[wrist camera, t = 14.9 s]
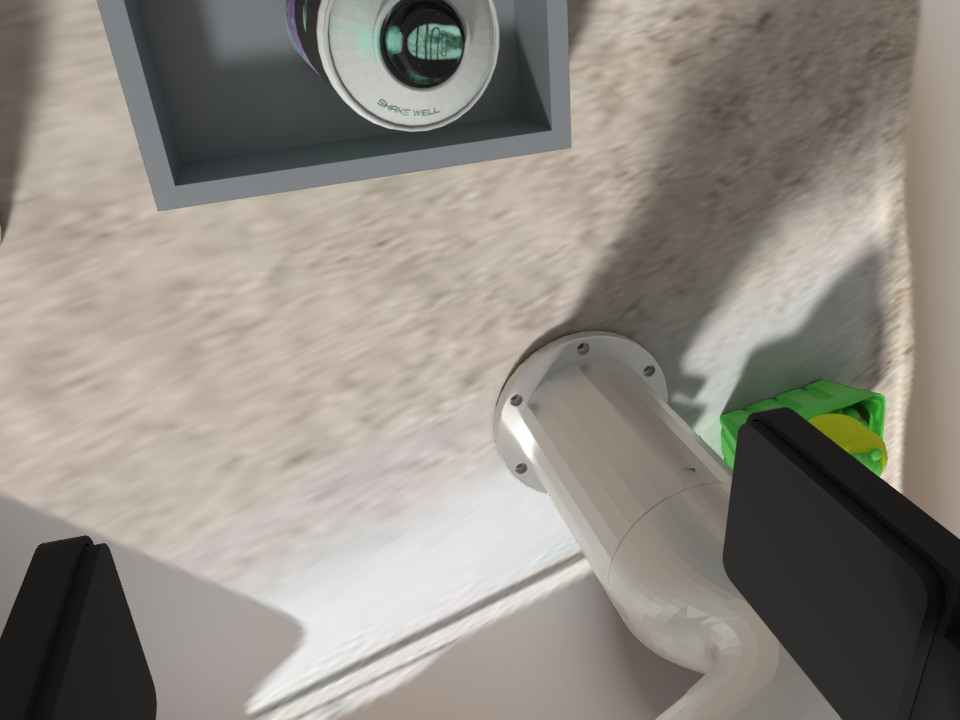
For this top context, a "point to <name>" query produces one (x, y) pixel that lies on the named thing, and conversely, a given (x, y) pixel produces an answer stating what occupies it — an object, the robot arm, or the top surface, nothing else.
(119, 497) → the top surface
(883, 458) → the fruit basket
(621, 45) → the top surface
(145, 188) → the top surface
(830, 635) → the robot arm
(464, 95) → the spray can
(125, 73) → the bin
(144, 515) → the top surface
